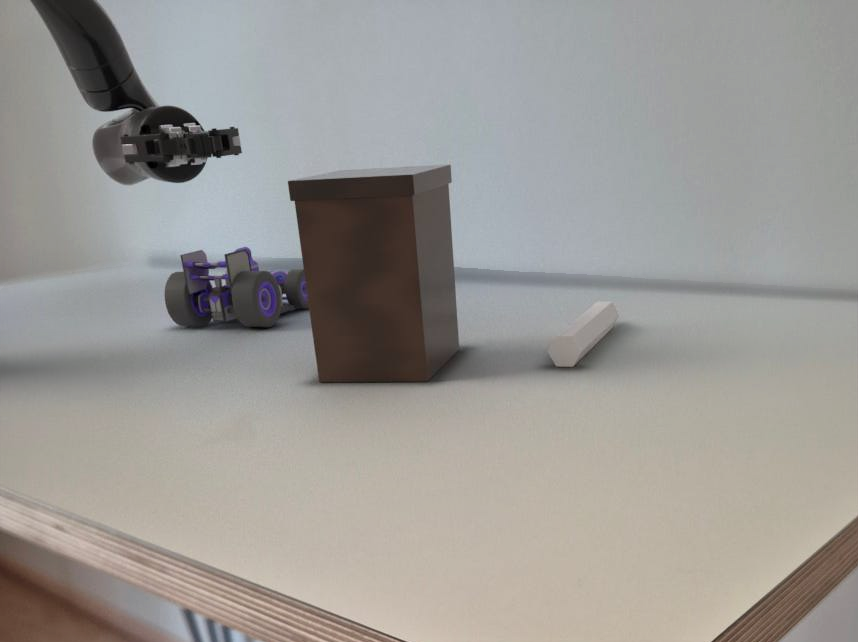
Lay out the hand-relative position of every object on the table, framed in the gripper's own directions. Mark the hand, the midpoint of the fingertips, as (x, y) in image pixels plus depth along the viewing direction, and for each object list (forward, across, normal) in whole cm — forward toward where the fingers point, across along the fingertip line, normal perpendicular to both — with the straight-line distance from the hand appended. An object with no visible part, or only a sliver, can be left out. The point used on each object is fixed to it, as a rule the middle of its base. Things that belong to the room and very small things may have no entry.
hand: (203, 145), depth 94 cm
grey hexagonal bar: (+42, +17, +15) cm, 48 cm away
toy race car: (+10, 0, +15) cm, 18 cm away
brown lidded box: (+39, +2, +15) cm, 41 cm away
